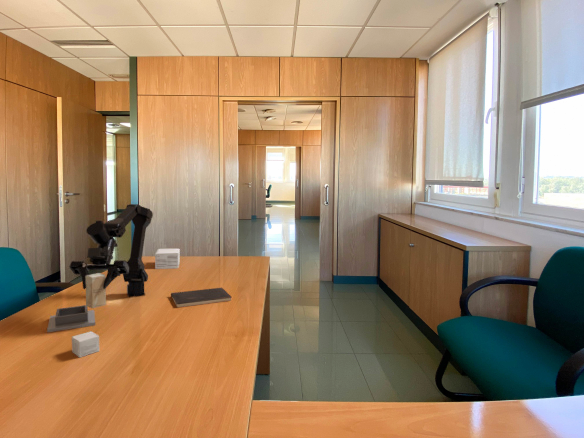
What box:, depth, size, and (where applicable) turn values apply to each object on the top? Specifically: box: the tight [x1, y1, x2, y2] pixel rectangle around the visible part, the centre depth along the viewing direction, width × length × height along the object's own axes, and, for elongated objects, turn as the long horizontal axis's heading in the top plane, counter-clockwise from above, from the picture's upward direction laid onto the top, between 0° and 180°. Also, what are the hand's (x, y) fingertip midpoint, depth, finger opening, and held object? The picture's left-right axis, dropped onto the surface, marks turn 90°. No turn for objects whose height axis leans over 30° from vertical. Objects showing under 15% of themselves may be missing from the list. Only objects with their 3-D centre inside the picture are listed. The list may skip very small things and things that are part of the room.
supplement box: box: [154, 248, 181, 270], centre depth 219 cm, size 17×13×9 cm
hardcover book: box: [170, 287, 232, 308], centre depth 158 cm, size 16×23×2 cm
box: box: [85, 272, 107, 309], centre depth 127 cm, size 5×4×11 cm
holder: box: [46, 304, 96, 334], centre depth 129 cm, size 14×14×4 cm
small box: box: [71, 331, 100, 358], centre depth 107 cm, size 6×6×5 cm
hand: (94, 288), depth 126 cm, fingers closed on box, 6 cm apart
